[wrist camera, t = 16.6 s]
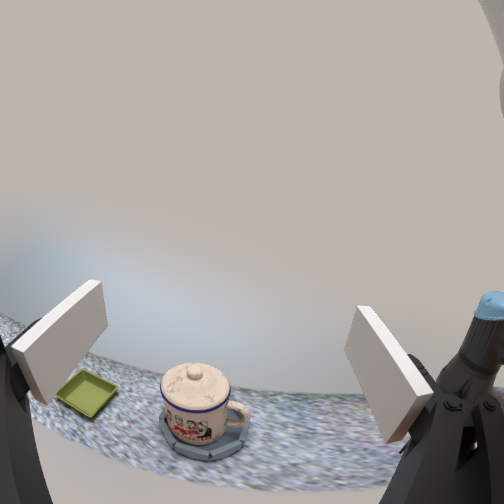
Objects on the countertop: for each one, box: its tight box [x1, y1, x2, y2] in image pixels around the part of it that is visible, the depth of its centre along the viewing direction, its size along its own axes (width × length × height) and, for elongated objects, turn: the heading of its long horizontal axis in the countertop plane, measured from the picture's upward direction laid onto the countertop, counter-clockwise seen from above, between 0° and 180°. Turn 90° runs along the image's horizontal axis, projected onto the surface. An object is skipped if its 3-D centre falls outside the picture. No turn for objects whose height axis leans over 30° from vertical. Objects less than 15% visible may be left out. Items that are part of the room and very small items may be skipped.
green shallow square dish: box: [55, 369, 118, 418], centre depth 34 cm, size 9×9×2 cm
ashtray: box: [159, 396, 250, 461], centre depth 34 cm, size 13×13×2 cm
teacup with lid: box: [160, 363, 250, 445], centre depth 32 cm, size 12×9×12 cm
